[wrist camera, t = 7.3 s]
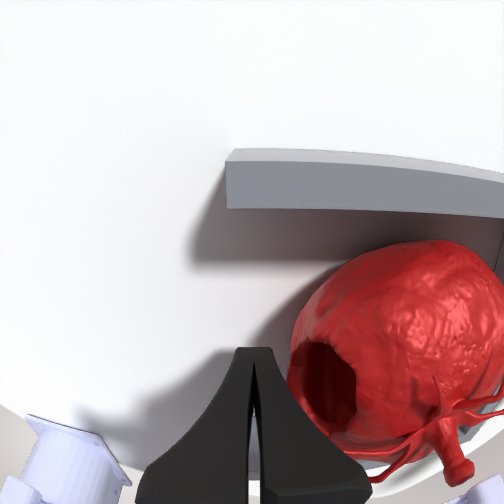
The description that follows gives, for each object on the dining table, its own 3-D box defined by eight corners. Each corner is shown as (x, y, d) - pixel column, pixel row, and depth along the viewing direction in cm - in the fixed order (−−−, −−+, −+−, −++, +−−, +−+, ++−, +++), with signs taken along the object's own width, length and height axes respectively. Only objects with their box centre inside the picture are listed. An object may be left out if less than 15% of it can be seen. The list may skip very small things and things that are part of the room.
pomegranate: (437, 178, 12) (614, 264, 3) (466, 334, 15) (547, 442, 6) (237, 281, 13) (226, 496, 5) (322, 409, 17) (351, 548, 8)
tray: (449, 400, 17) (470, 440, 14) (243, 426, 17) (241, 480, 14) (526, 178, 11) (578, 200, 7) (234, 149, 11) (225, 161, 7)
